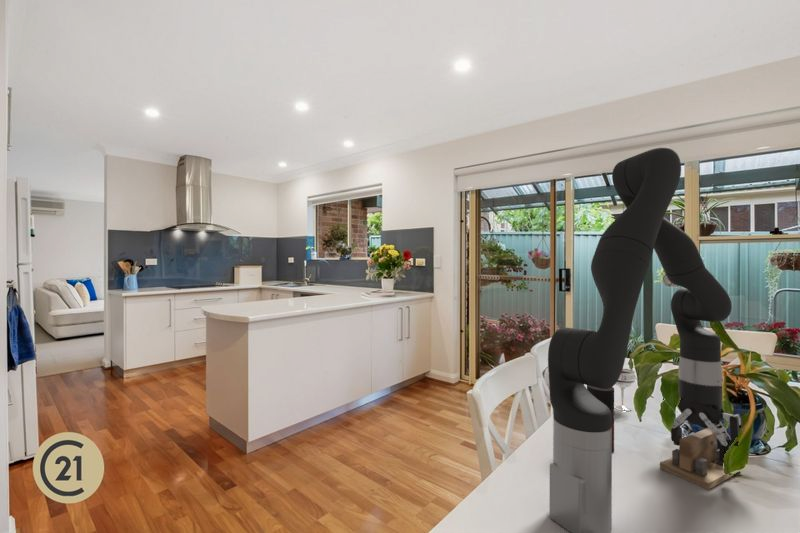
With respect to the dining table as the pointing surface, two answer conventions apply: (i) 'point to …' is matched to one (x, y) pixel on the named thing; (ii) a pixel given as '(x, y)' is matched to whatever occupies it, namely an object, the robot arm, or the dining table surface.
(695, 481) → the wooden base with pegs
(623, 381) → the wineglass
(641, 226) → the robot arm
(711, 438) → the brown block
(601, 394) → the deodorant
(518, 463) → the dining table surface
